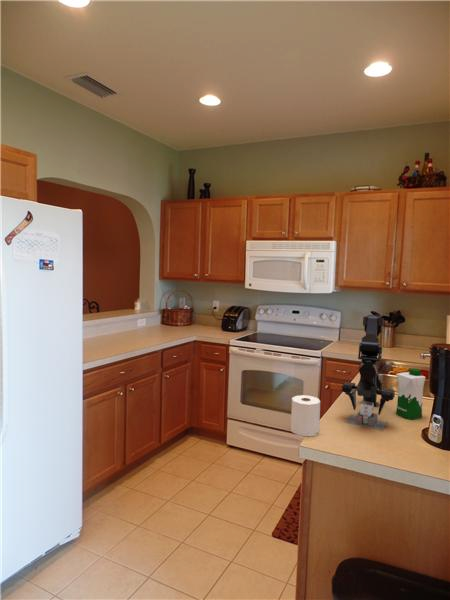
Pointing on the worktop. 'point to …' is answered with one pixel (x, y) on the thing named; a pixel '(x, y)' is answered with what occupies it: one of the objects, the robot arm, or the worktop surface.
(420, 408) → the milk carton
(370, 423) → the stand
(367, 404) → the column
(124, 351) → the worktop surface
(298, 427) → the toilet paper
